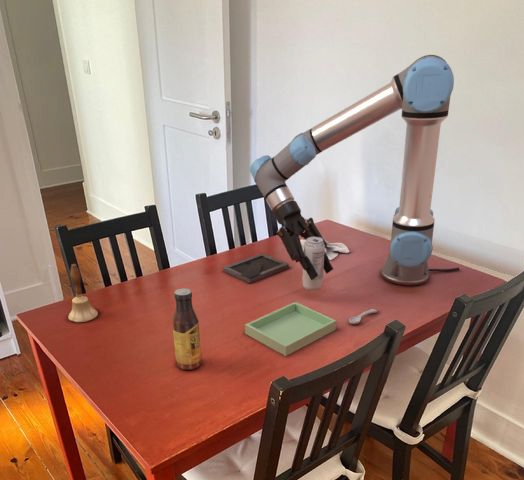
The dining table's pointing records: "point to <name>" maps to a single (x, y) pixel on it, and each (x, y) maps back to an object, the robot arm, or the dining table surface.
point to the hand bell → (80, 301)
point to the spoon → (358, 318)
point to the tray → (290, 328)
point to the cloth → (331, 248)
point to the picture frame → (255, 268)
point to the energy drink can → (314, 262)
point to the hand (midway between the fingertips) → (322, 274)
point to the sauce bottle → (186, 331)
